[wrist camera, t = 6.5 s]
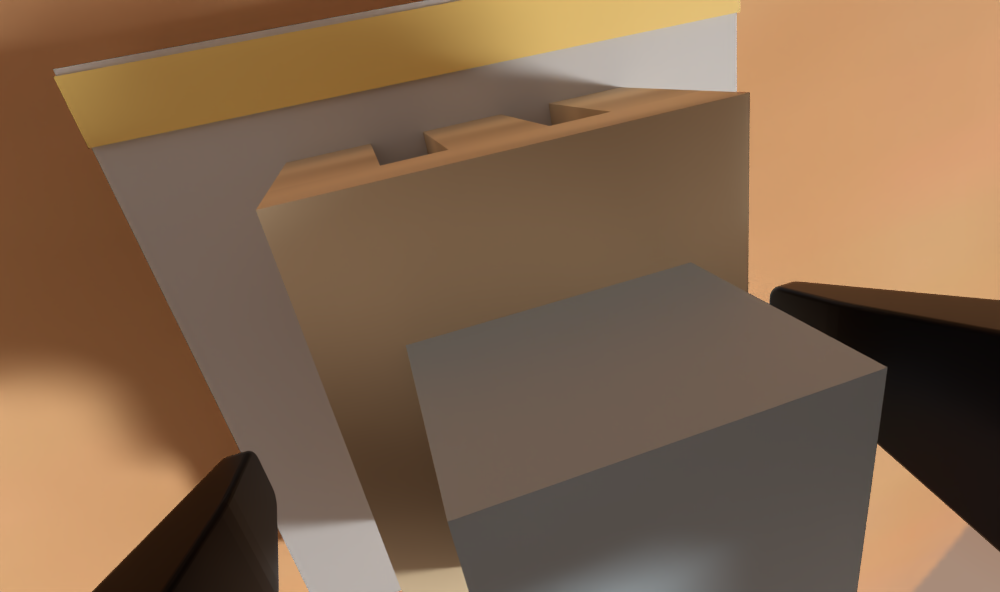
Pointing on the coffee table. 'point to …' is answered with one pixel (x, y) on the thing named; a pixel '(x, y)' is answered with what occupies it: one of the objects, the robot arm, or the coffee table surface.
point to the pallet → (490, 259)
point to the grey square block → (652, 443)
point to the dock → (324, 129)
